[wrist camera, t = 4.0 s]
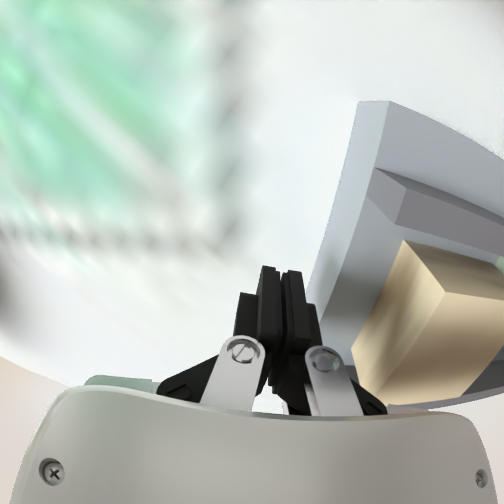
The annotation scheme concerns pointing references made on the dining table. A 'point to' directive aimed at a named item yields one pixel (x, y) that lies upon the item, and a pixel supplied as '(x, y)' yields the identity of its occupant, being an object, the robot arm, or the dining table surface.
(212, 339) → the dining table surface
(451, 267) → the maple block
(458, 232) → the lane deck
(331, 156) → the dining table surface
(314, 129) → the dining table surface
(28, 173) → the dining table surface
